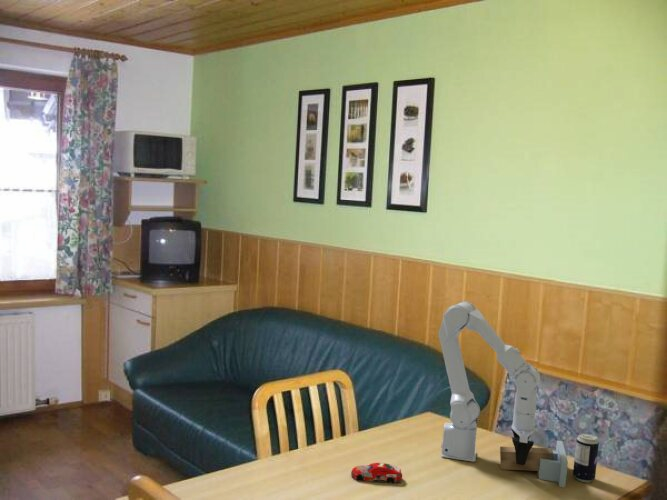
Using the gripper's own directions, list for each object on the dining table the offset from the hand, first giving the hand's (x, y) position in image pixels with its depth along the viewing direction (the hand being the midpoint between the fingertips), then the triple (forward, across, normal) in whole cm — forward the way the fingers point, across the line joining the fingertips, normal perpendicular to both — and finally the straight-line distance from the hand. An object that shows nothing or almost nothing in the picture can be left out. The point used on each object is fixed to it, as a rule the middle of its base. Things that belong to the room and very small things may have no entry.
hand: (520, 459), depth 194 cm
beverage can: (+3, 0, -17) cm, 17 cm away
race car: (+3, -21, +36) cm, 42 cm away
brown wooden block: (+2, 0, -2) cm, 3 cm away
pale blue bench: (+3, 0, -8) cm, 9 cm away
